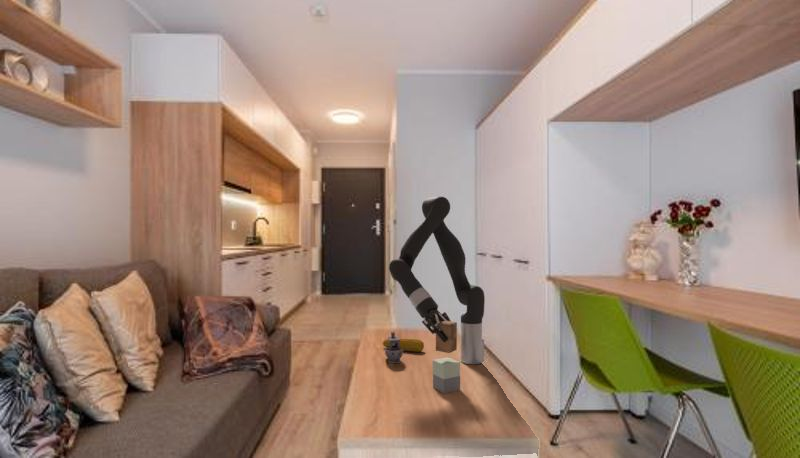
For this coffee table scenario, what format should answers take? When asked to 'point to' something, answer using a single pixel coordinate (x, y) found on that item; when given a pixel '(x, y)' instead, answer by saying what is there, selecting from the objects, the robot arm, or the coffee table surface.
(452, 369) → the tower top
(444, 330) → the walnut block
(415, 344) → the food
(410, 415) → the coffee table surface
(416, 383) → the coffee table surface
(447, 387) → the tower base
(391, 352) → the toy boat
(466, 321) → the robot arm
